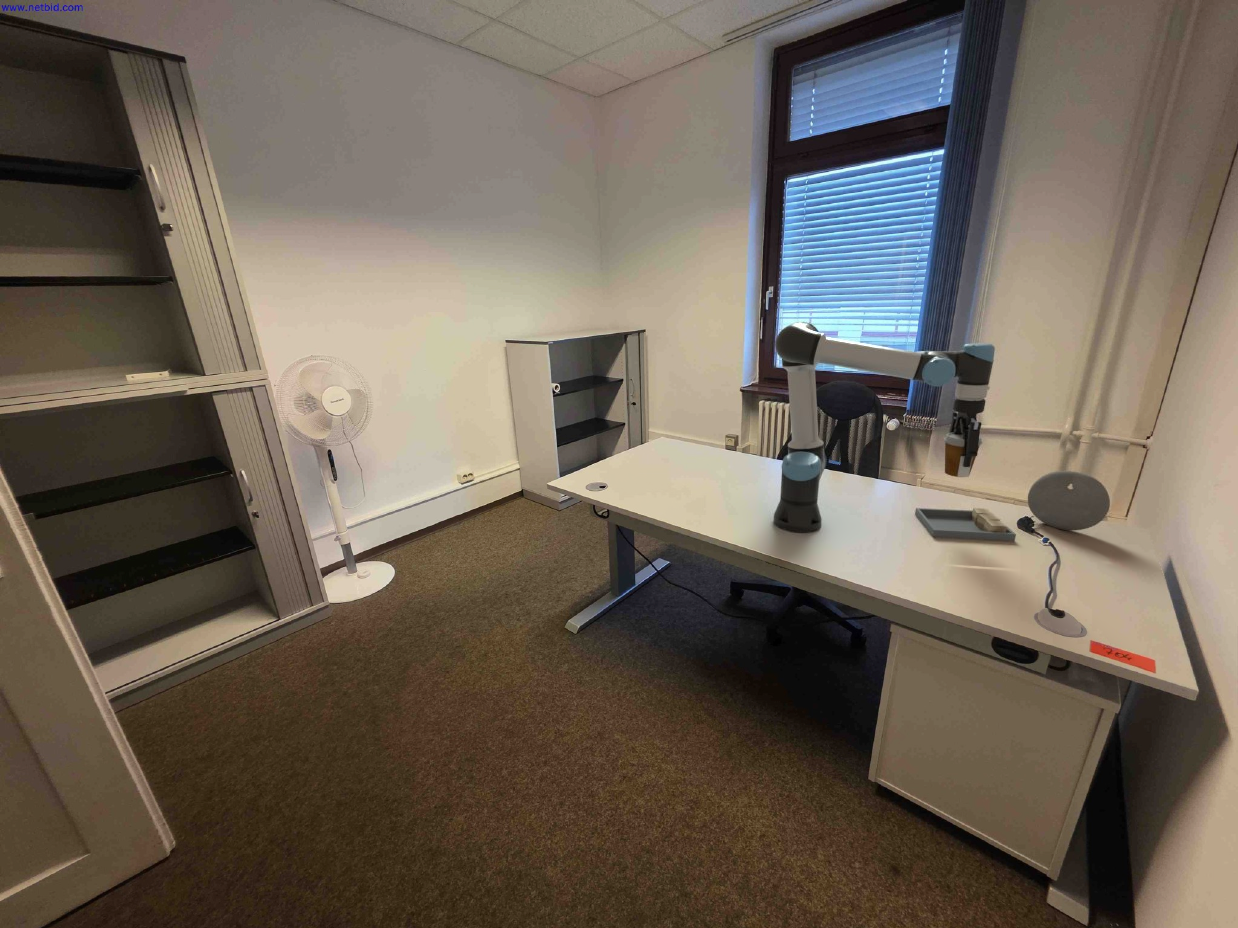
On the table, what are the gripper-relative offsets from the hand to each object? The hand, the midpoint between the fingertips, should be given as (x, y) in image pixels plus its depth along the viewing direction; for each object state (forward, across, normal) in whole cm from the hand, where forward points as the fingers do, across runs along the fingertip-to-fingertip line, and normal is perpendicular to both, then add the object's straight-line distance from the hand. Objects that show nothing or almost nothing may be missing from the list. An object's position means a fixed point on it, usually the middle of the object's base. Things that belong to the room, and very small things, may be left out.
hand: (957, 471), depth 150 cm
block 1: (+19, +5, -11) cm, 22 cm away
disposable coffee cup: (+1, 0, 0) cm, 1 cm away
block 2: (+19, 0, -11) cm, 22 cm away
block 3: (+19, -4, -11) cm, 22 cm away
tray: (+19, 0, -4) cm, 20 cm away
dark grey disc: (+20, +4, -32) cm, 38 cm away
